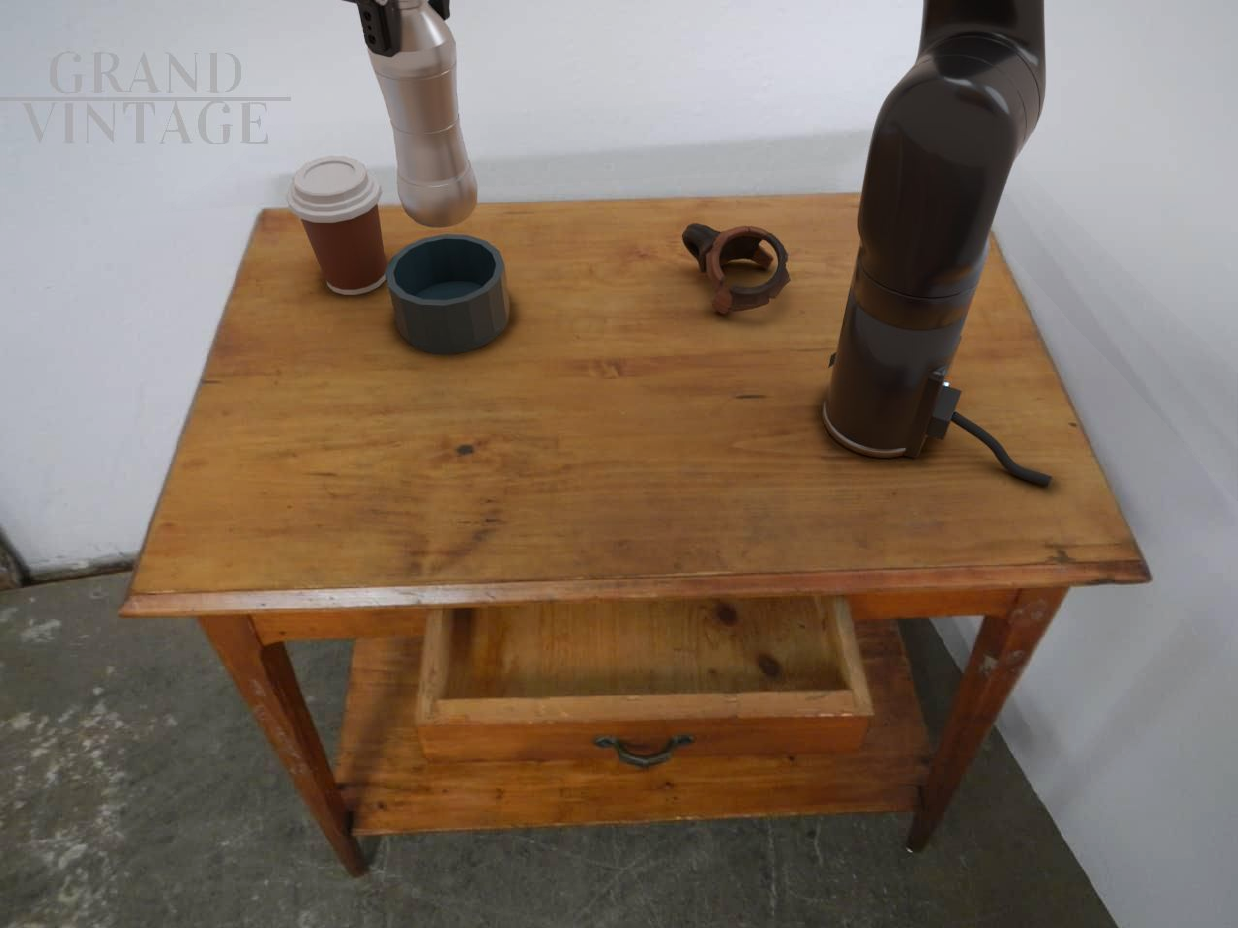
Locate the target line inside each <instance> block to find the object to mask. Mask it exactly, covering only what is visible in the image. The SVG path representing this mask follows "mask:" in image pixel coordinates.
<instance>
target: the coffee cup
mask: <svg viewBox="0 0 1238 928" xmlns="http://www.w3.org/2000/svg"><path fill="white" fill-rule="evenodd" d="M291 180H292V183H291V184H290V186H289V188H288V190H287V192H286V194H285V197H286V200H287V201H286V202H287V206H288V208H289V211H290V212H291V213H292V214H293V215H295V216H296V217H297V218H298V219H300V221H301V224H302V227H303V228H304V231H305V233H306V236H307V238H308V241H309V243H310V245H311V247H312V250H313V253H314V255H315V258H316V260H317V262H318V265H319V267H320V270H321V272H322V274H323V277H324V280H325V282H326V286H327V287H328V288H329V289H330V290H332V291H333V292H334V293H337V294H341V295H346V296H357V295H362V294H366V293H369V292H371V291H373V290H376V289H378V288H379V287H380V286H381V285H382V284H383V283H384V282H385V281H387V280H386V276H385V271H386V269H387V267H388V266H387V261H386V254H385V247H384V246H385V245H384V240H383V233H382V232H383V231H382V225H381V218H380V217H381V216H380V211H379V202H380V200H381V197H382V195H383V188H382V185H381V182H380V179H379V177H378V176H377V175H376V174H375V173H374V172H372V171H371V170H369V169H368V168H366V165H365V164H364V163H362V162H361V161H360V160H358V159H357V158H353V157H350V156H345V155H328V156H323V157H318V158H315V159H313V160H310V161H308V162H305V163H304V164H303V165H301V166H300V167H299V168H298V169H296V171H295V173H294V174H293V177H292V179H291Z"/></svg>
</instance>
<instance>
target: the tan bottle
mask: <svg viewBox="0 0 1238 928" xmlns="http://www.w3.org/2000/svg"><path fill="white" fill-rule="evenodd" d="M388 1H390V2H391V6H392V12H393V17H394V23H395V28H396V34H397V39H398V45H399V52H398V53H397V54H396V55H394V56H393V57H391V58H390V57H385V56H381V55H377V54H374V53H373V52H372V51H371V50H370V49H369V48H368V47H367V49H366V51H367V54H368V57H369V60H370V64H371V66H372V70H373V73H374V75H375V77H376V80H377V83H378V86H379V89H380V91H381V94H382V97H383V100H384V103H385V107H386V111H387V115H388V118H389V120H390V121H389V122H390V125H391V129H392V134H393V135H392V136H393V143H394V151H395V159H396V185H397V186H396V187H397V195H398V199H399V201H400V203H401V205H402V208H403V210H404V212H405V213H406V215H407V216H408V217H409V218H411V219H412V220H413V221H414V222H415V223H416V224H419V225H421V226H424V227H428V228H435V229H439V228H449V227H453V226H456V225H459V224H461V223H463V222H465V221H467V220H468V219H469V218H470V217H471V215H472V214H473V212H474V211H475V209H476V207H477V205H478V194H479V193H478V189H479V185H478V182H477V178H476V174H475V172H474V169H473V166H472V164H471V161H470V160H469V156H468V152H467V146H466V144H465V138H464V134H463V131H462V127H461V118H460V113H459V108H460V107H459V98H458V84H457V83H458V81H457V80H458V77H457V75H458V72H457V71H458V68H457V67H458V66H457V63H458V62H457V61H458V60H457V56H458V55H457V42H456V40H455V38H454V35H453V33H452V31H451V29H450V26H449V25H448V24H447V22H446V21H444V20H443V19H442V18H441V16H440V15H439V14H438V13H437V12H436V11H435V10H434V9H433V8H432V7H431V6H430V5H429V3H428V1H429V0H388Z"/></svg>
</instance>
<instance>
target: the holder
mask: <svg viewBox="0 0 1238 928" xmlns="http://www.w3.org/2000/svg"><path fill="white" fill-rule="evenodd" d="M386 267H387V269H386V271H385V276H386V280H385V281H386V284H387V288H388V292H389V293H388V294H389V296H390V301H391V304H392V309H393V312H394V316H395V317H394V318H395V321H396V325H397V326H396V327H397V329H398V331H399V334H400V335H401V337H402V338H403V339H404V340H405V342H407V343H408V344H409V345H411V346H412V347H414V348H416V349H419V350H421V351H423V352H426V353H427V352H428V353H432V354H438V355H439V354H440V355H452V354H453V355H455V354H462V353H467V352H470V351H474V350H476V349H479V348H481V347H483V346H486V345H488V344H489V343H491V342H492V341H494V340H495V339H496V338H497V337H499V336H500V335H501V334H502V333H503V331H504V330H505V328H506V327H507V324H508V323H509V319H510V305H511V304H510V298H509V290H508V281H507V274H506V273H507V272H506V264H505V262H504V259H503V256H502V254H501V251H500V250H499V249H498V248H497V247H495V246H494V245H493V244H492V243H490V242H489V241H487V240H485V239H482V238H479V237H476V236H473V235H470V234H461V233H459V234H458V233H457V234H456V233H443V234H438V235H431V236H427V237H422V238H420V239H419V240H415V241H413V242H411V243H408V245H405V246H403V247H402V248H401V249H400V250H399V251H398V252H396V254H395V255H393V256H392V257H391V258H390V260H389V262H388V265H387V266H386Z"/></svg>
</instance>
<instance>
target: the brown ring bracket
mask: <svg viewBox="0 0 1238 928" xmlns="http://www.w3.org/2000/svg"><path fill="white" fill-rule="evenodd" d="M681 240H682V243H683V245H684V247H685V248H686V250H687V251H688V252H689V254H690V255H691V256H692V257H693V258H694V259H695V260H696V261H697V263H698V264H697V265H698V267H699V271H700V273H702V274H704V273H706V272H707V276H708V280H709V282H710V285H711V287H712V289H713V290H714V292H716V293H715V295H714V298H713V299H712V300H711V301H710V302H711V307H712V308H713V309H714V310H715V311H716V312H718V313H720V314H722V315H725V314H728V313H729V311H731V312H734V313H736V312H743V311H749V310H753V309H757V308H761V307H764V306H766V305H769V303H770V299H772V300H773V299H776V298H777V297H778V295H780V293H781V292H782V290H783V289H784V287H786V286H787V285H788V284H789V283H790V282H792V281H791V277H790V273H789V270H788V269H787V264H786V263H788V261H789V253H788V251H787V249H786V248H785V245H784V244H783V243H782V242H781V240H780V239H779V238H778V237H776V236H775V234H773V233H772V232H769V231H767V230H766V229H764V228H761V227H758V226H754V225H740V226H736V227H733V228H729V229H726V230H723V231H720V230H716V229H714V228H712V227H710V226H708V225H707V224H702V223H697V222H695V223H694V222H692V223H690V224H688V225H687V226H686V228H685V229H684V230H683V232H682V234H681ZM762 241H765V242H766V243H768V244H769V245H770V246H771V248H772V249H773V250H774V252H775V254H776V257H777V266H776V270H775V273H774V274H773V275H772V276H771V278H769V280H768V281H766V282H764V283H762V284H759V285H755V286H741V285H738V284H735V283H733V284H732V289H731V288H729V287H728V286H727V285H726V284H725V283H724V281H725V277H726V276H725V274H724V272H723V270H722V268H721V267H722V266H723V265H725V264H727V263H729V262H733V261H737V260H738V261H739V260H750V261H752V262H754V263H756V264H758V265H759V266H761V267H763V268H764V269H765V270H768V269H770V267H771V265H772V262H774V259H775V258H774V256H773V255H772V254H771V253H770V252H768V251H767V250H766V249H765V248H764V247H763V246H762V245H760V243H762Z"/></svg>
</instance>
